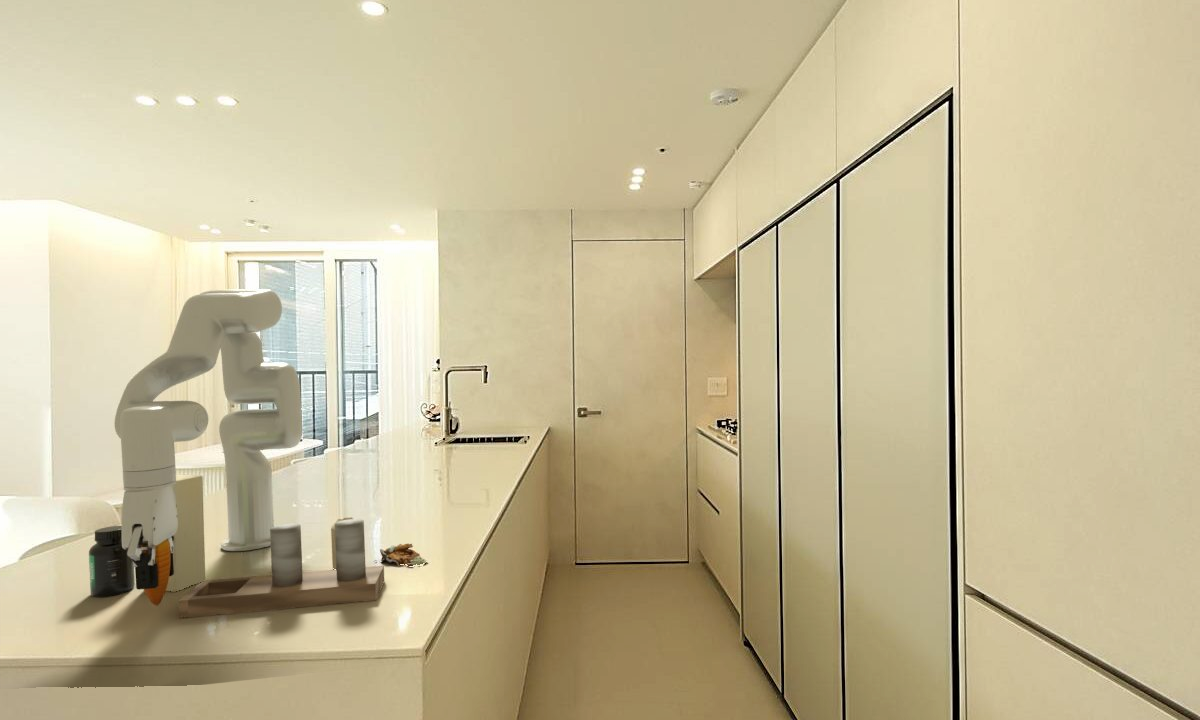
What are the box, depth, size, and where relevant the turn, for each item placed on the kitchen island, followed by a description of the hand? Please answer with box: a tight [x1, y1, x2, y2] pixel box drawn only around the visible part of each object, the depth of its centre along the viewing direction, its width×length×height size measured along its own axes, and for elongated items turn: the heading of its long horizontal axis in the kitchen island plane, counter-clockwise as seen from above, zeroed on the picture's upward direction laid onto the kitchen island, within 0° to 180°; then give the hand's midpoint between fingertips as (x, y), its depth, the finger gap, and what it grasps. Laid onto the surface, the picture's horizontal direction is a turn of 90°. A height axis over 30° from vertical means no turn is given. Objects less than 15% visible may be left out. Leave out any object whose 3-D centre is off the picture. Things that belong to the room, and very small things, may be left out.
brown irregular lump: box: [373, 543, 427, 566], centre depth 140 cm, size 7×12×4 cm, turn 65°
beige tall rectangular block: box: [165, 473, 206, 593], centre depth 129 cm, size 8×7×21 cm
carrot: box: [141, 540, 171, 606], centre depth 114 cm, size 5×5×15 cm
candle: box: [330, 517, 354, 569], centre depth 136 cm, size 6×6×10 cm
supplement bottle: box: [88, 525, 136, 598], centre depth 126 cm, size 7×7×12 cm
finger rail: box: [177, 518, 385, 619], centre depth 119 cm, size 10×32×13 cm, turn 100°
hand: (155, 581), depth 114 cm, fingers closed on carrot, 4 cm apart
